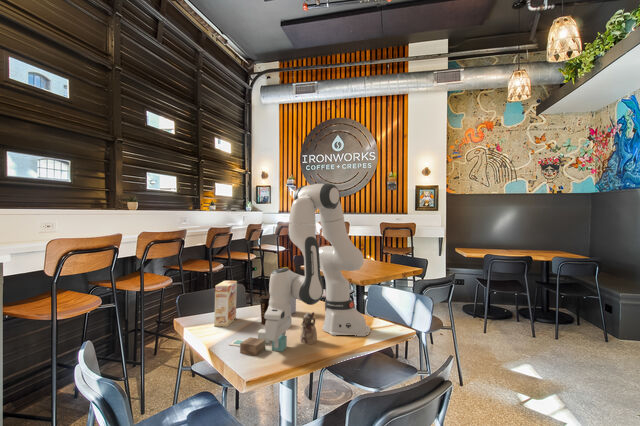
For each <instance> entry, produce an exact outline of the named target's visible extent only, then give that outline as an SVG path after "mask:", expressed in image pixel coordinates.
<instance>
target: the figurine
mask: <svg viewBox="0 0 640 426" xmlns="http://www.w3.org/2000/svg"><path fill="white" fill-rule="evenodd" d="M315 314H316V313H315V312H313V311H312V313H310V312H307V313H305V314H304V315H303V319H302V323H300V325H301V327H302V328H301V333H300V337H299V339H300V340H299V343H301V344H303V345H315V344H316V343H317V340H318V335H317V334H318V332H317V328H316V326H315V325H316V318H315V317H314V316H315Z"/></svg>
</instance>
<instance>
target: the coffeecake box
mask: <svg viewBox="0 0 640 426" xmlns="http://www.w3.org/2000/svg"><path fill="white" fill-rule="evenodd" d="M214 286H215V287H214V289H215V291H214V316H213V317H214V320H213V322H214V323H213V326H214V327H221V326H223V328H224V327H226V328H228V327H229V326H230V325H231V324H233V322H234V321H235V320H236V319H237V294H238V293H237V290H238V281H237V280H222V282H219V283H218V284H216V285H214ZM235 318H236V319H235ZM234 319H235V320H234Z"/></svg>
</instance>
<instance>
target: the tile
mask: <svg viewBox="0 0 640 426" xmlns="http://www.w3.org/2000/svg"><path fill="white" fill-rule="evenodd" d="M245 340H246V339H237V338H236V339H235V340H233V341H231V342H229V344H228V346H233V347H240V343H241V342H243V341H245Z"/></svg>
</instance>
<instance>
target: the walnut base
mask: <svg viewBox="0 0 640 426" xmlns="http://www.w3.org/2000/svg"><path fill="white" fill-rule="evenodd" d="M244 340H245V341H243V342H241V343H240V346H239V353H240V354H244V355H248V356H249V355H250V356H254V357H257V356H258V355H260V354H261V353H262V352H264V351H265V350H266V343H265V342H266V340H264V339H258V337H257V338H255V337H252V336H251V337H248V338H247V339H244Z"/></svg>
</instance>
